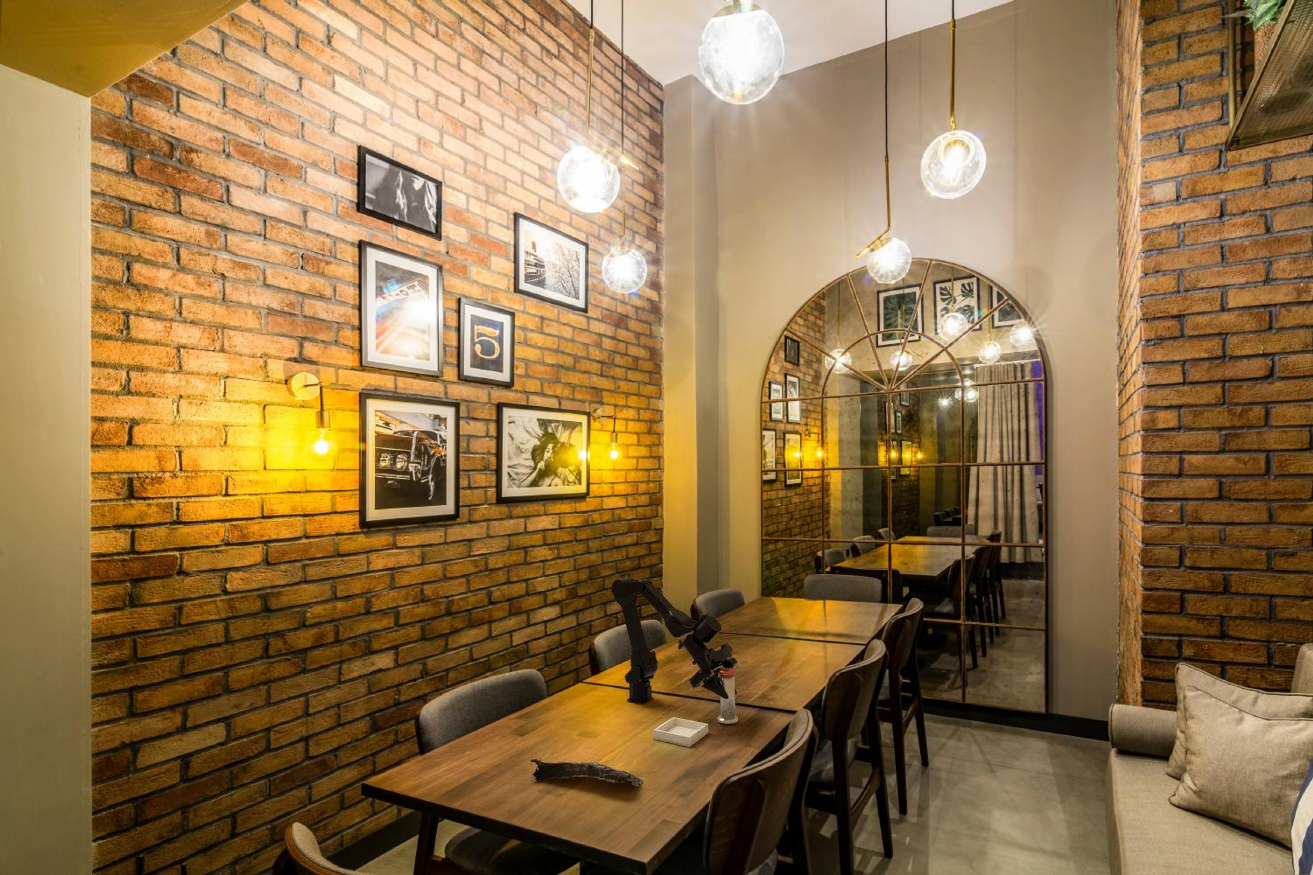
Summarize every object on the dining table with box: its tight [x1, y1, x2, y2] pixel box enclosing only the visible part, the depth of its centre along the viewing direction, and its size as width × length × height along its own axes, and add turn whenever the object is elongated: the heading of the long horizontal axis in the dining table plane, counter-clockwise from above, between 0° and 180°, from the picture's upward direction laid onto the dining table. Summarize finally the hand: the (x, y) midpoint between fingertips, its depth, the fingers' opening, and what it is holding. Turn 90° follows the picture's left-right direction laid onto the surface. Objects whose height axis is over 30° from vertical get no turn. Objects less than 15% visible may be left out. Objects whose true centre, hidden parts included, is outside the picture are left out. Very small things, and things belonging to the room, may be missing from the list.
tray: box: [652, 716, 709, 748], centre depth 185 cm, size 11×11×2 cm
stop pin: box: [717, 667, 739, 725], centre depth 195 cm, size 6×6×15 cm
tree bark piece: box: [530, 758, 644, 788], centre depth 158 cm, size 27×9×10 cm
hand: (731, 696), depth 195 cm, fingers closed on stop pin, 4 cm apart
